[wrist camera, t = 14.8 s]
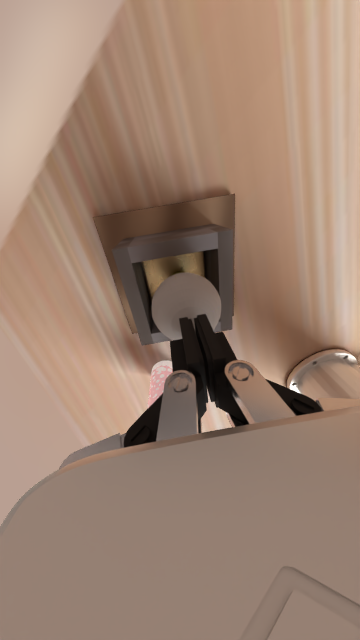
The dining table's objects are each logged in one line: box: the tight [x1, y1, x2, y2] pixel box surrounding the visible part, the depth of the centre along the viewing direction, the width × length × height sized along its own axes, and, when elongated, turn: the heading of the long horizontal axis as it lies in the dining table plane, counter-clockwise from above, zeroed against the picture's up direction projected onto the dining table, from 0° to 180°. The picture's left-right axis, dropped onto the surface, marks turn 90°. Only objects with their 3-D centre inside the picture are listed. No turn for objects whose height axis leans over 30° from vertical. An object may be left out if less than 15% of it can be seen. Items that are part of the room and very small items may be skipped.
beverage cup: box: [148, 360, 173, 408], centre depth 25 cm, size 6×6×14 cm
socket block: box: [93, 194, 235, 345], centre depth 20 cm, size 14×14×7 cm
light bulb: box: [152, 271, 221, 340], centre depth 17 cm, size 5×6×10 cm
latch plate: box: [143, 251, 204, 299], centre depth 21 cm, size 6×6×1 cm
